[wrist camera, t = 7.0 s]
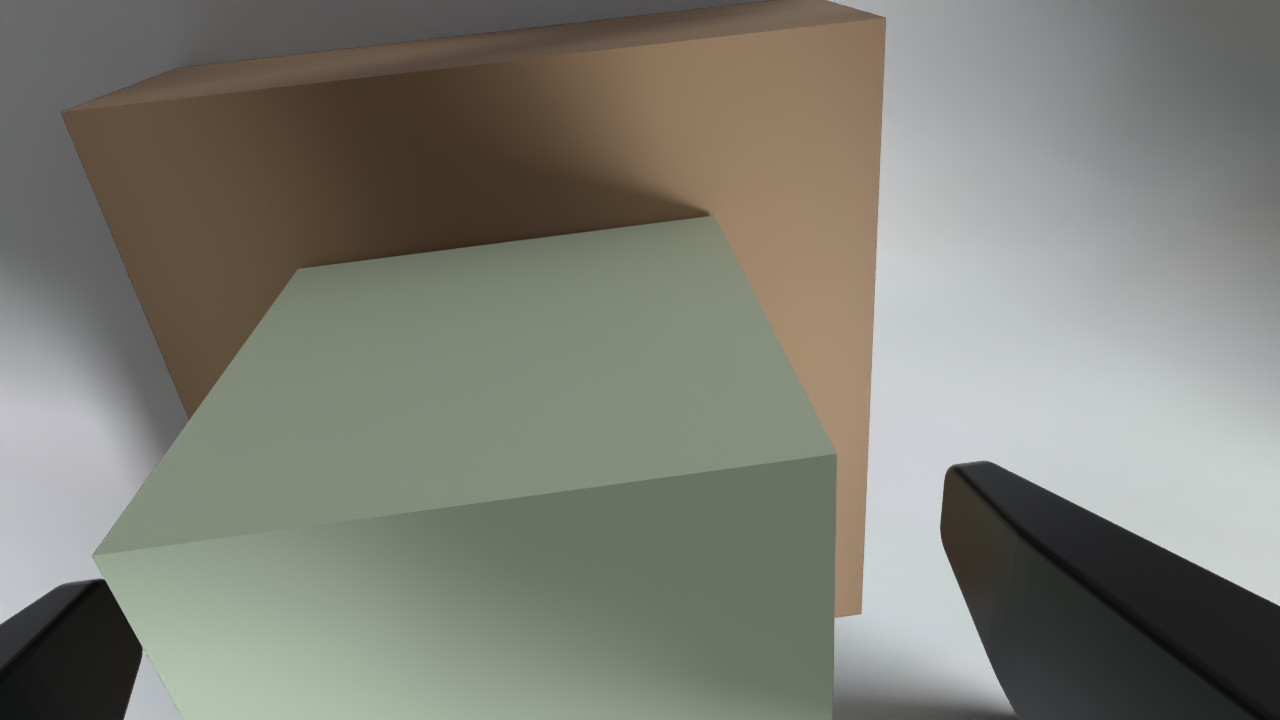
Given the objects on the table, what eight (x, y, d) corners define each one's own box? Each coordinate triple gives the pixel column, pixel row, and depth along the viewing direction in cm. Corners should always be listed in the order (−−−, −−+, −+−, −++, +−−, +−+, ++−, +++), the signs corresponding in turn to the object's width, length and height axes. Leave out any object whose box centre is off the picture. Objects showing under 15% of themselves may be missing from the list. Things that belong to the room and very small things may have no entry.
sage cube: (713, 215, 10) (836, 452, 6) (732, 534, 12) (829, 873, 8) (297, 268, 10) (91, 555, 5) (399, 580, 12) (312, 953, 8)
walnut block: (803, -7, 12) (885, 17, 9) (804, 485, 16) (861, 614, 13) (189, 63, 12) (60, 112, 9) (351, 544, 16) (302, 690, 13)
